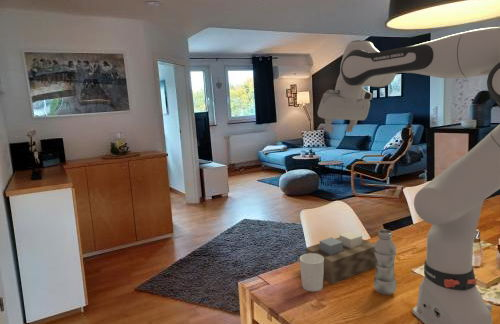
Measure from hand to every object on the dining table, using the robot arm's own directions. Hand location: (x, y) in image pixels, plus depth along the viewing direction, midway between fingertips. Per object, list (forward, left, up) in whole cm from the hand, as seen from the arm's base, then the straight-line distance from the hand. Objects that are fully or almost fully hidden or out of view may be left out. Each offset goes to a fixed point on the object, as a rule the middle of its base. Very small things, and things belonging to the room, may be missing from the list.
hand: (338, 131), depth 124 cm
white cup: (-13, +12, -50) cm, 53 cm away
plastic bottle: (-18, -9, -50) cm, 54 cm away
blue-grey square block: (-3, +4, -42) cm, 43 cm away
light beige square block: (+2, -4, -42) cm, 43 cm away
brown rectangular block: (0, 0, -50) cm, 50 cm away
